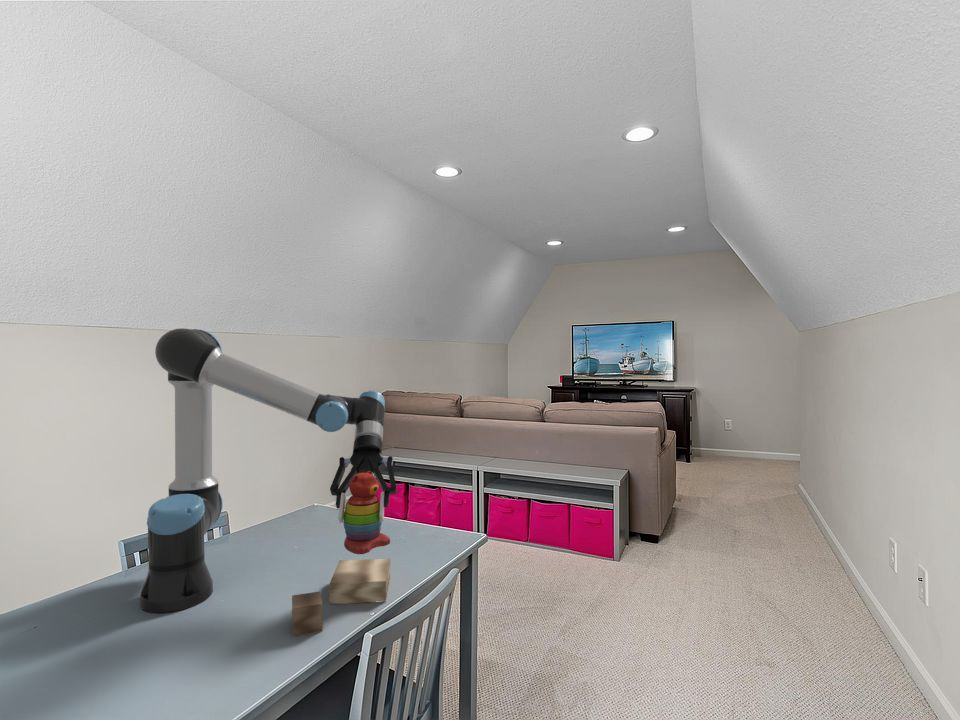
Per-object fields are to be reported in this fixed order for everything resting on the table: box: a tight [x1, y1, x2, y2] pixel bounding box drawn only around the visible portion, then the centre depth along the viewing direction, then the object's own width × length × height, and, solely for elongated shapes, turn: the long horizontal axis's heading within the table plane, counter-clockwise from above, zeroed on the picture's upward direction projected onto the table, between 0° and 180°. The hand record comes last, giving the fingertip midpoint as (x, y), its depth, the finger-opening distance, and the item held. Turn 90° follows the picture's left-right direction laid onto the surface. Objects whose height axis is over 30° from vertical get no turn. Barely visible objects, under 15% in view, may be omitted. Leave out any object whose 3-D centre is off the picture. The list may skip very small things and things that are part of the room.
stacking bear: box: [343, 471, 391, 555], centre depth 130 cm, size 11×10×18 cm
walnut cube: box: [291, 591, 323, 637], centre depth 113 cm, size 6×6×6 cm
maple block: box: [329, 558, 391, 605], centre depth 130 cm, size 13×13×5 cm
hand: (361, 519), depth 127 cm, fingers closed on stacking bear, 9 cm apart
